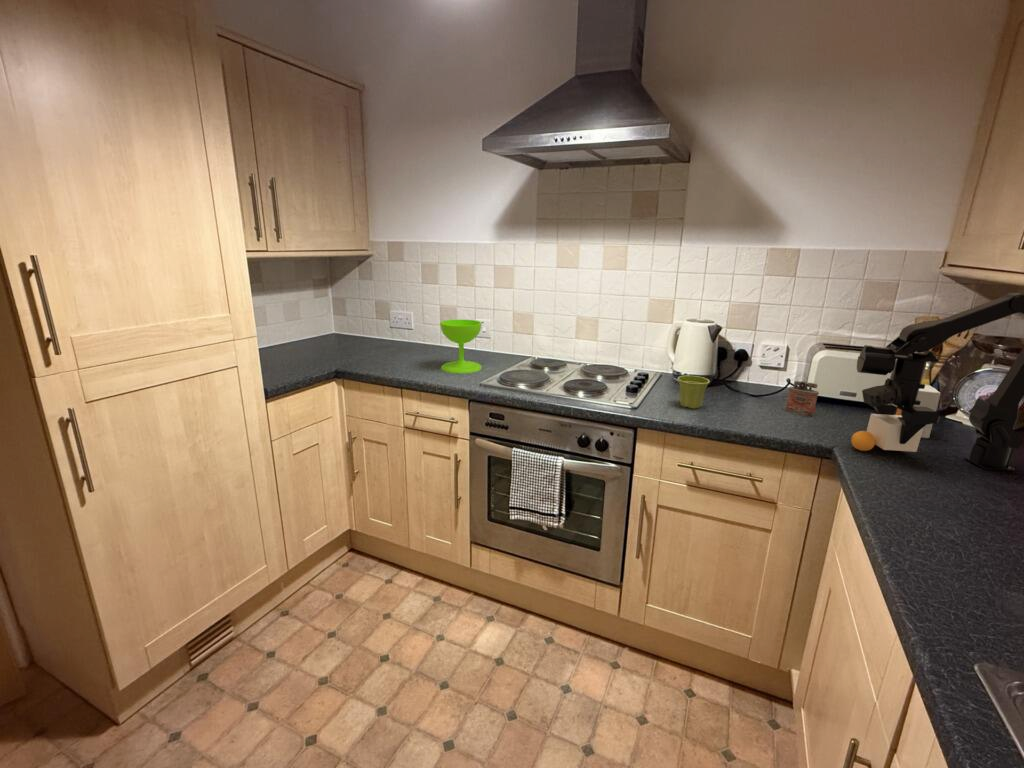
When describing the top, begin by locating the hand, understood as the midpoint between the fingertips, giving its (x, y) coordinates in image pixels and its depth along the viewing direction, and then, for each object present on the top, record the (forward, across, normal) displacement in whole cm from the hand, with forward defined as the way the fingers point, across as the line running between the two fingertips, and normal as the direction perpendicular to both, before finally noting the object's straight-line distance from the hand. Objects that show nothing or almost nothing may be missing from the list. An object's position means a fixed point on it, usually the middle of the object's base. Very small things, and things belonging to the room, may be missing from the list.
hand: (891, 437), depth 126 cm
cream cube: (+2, 0, 0) cm, 2 cm away
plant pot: (+4, -31, -41) cm, 51 cm away
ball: (+1, 0, -6) cm, 7 cm away
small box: (+4, -15, +15) cm, 22 cm away
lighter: (+4, -28, -9) cm, 29 cm away
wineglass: (+5, -67, -120) cm, 138 cm away
